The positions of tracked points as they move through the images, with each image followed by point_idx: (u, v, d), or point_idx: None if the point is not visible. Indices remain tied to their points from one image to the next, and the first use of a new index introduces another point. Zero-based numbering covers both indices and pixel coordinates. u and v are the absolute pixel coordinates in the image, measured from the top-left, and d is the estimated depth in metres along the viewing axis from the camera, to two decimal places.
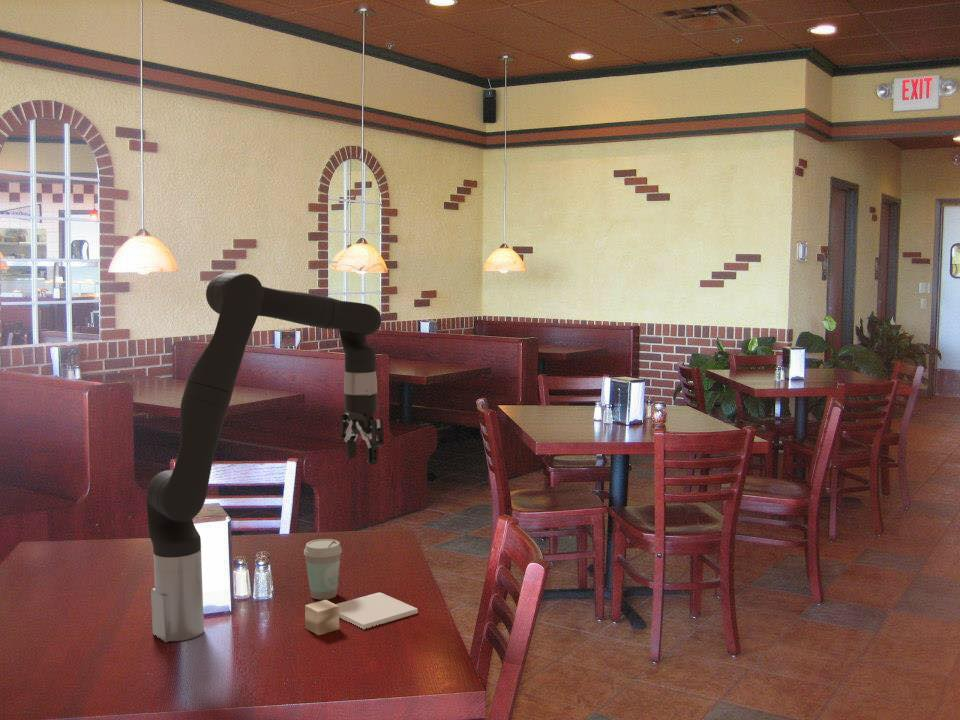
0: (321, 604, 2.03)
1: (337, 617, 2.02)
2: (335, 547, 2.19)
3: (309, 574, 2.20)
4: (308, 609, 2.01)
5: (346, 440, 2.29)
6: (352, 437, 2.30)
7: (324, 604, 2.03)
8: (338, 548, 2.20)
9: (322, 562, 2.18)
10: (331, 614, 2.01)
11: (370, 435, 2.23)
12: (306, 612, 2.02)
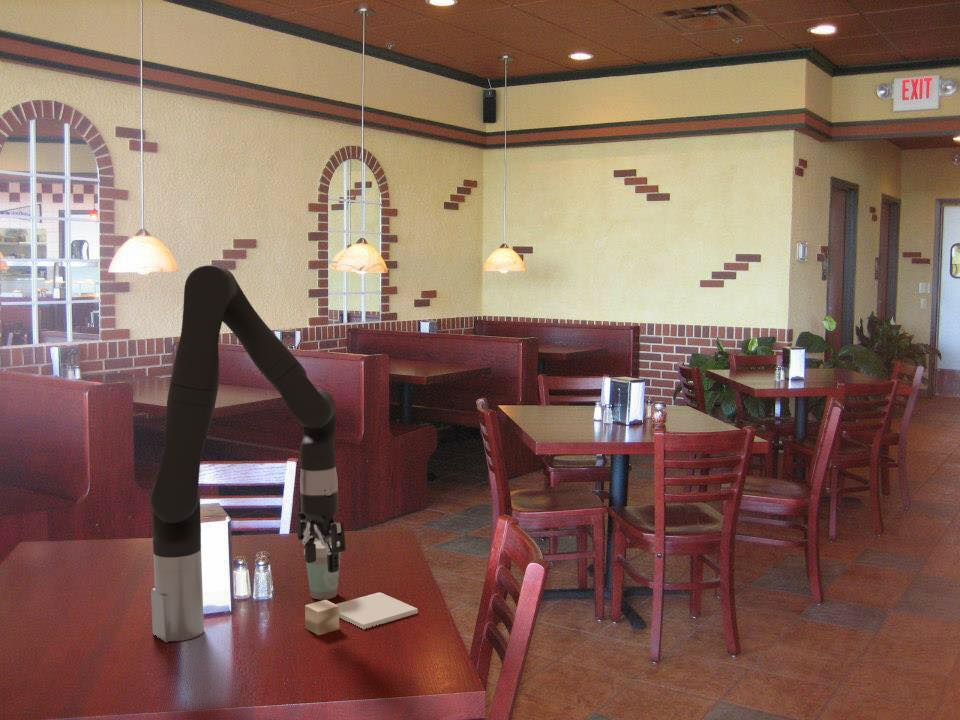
0: (321, 604, 2.03)
1: (337, 617, 2.02)
2: None
3: (309, 574, 2.20)
4: (308, 610, 2.01)
5: (304, 543, 2.03)
6: (311, 539, 2.04)
7: (324, 604, 2.03)
8: None
9: (322, 562, 2.18)
10: (331, 614, 2.01)
11: (330, 540, 1.98)
12: (306, 612, 2.02)
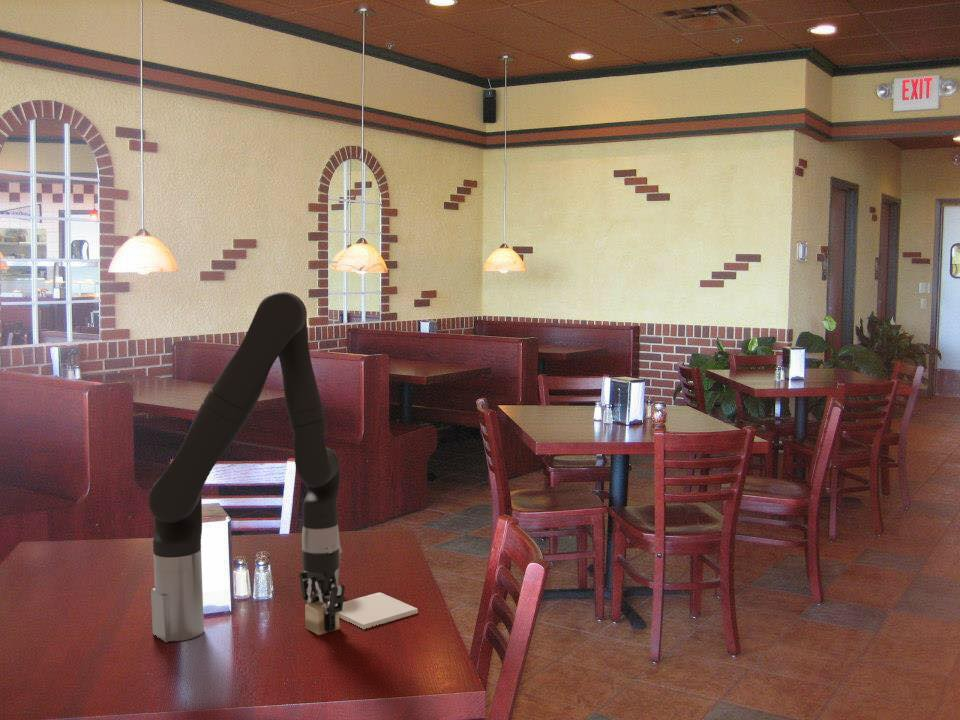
0: (321, 604, 2.03)
1: (337, 616, 2.02)
2: None
3: None
4: (308, 609, 2.01)
5: None
6: (316, 599, 2.05)
7: None
8: None
9: None
10: None
11: (329, 599, 1.99)
12: (306, 612, 2.02)
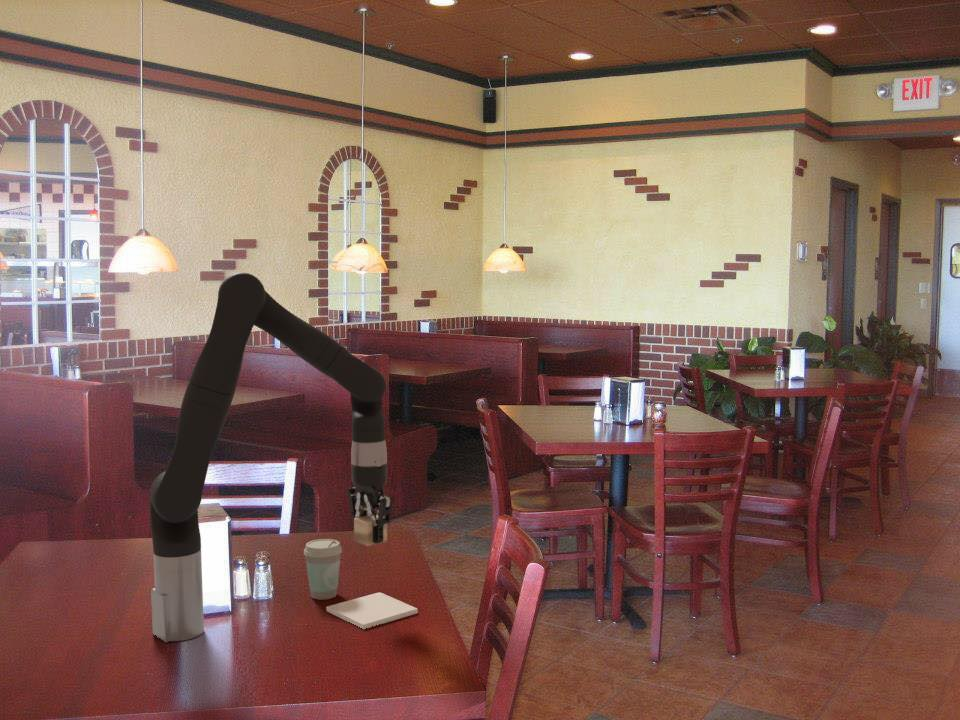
0: (369, 517, 2.10)
1: (385, 529, 2.09)
2: (335, 547, 2.19)
3: (309, 574, 2.20)
4: (357, 522, 2.09)
5: None
6: (363, 514, 2.12)
7: None
8: (338, 548, 2.20)
9: (322, 562, 2.18)
10: None
11: (377, 512, 2.07)
12: (355, 525, 2.10)
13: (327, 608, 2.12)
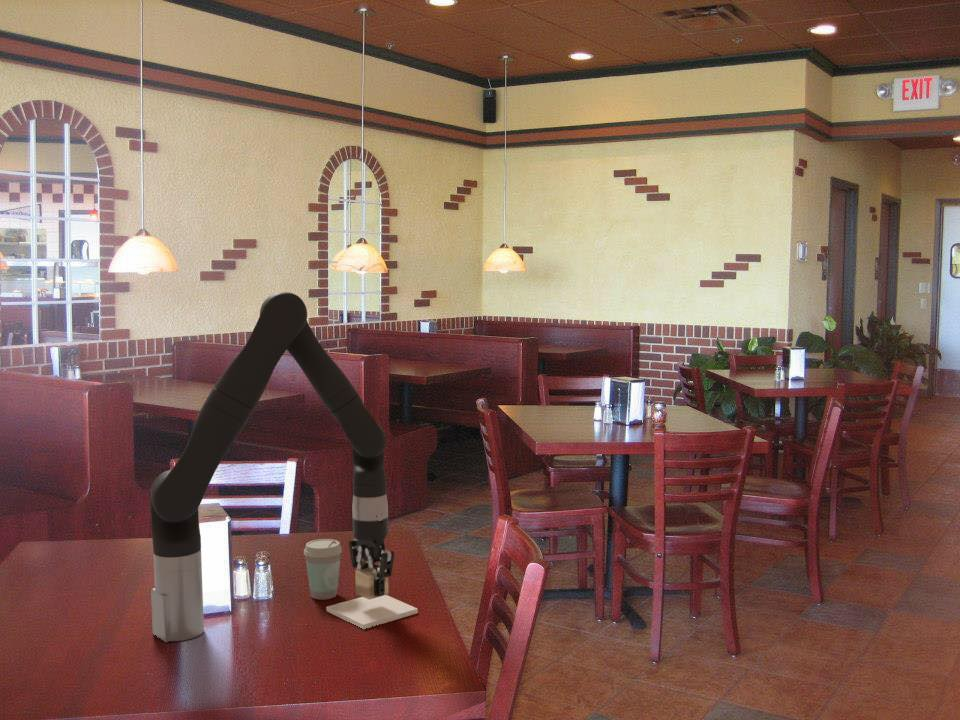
0: (370, 570, 2.12)
1: (386, 582, 2.11)
2: (335, 547, 2.19)
3: (309, 574, 2.20)
4: (358, 575, 2.10)
5: None
6: (365, 566, 2.13)
7: None
8: (338, 548, 2.20)
9: (322, 562, 2.18)
10: None
11: (378, 565, 2.08)
12: (356, 578, 2.11)
13: (327, 608, 2.12)
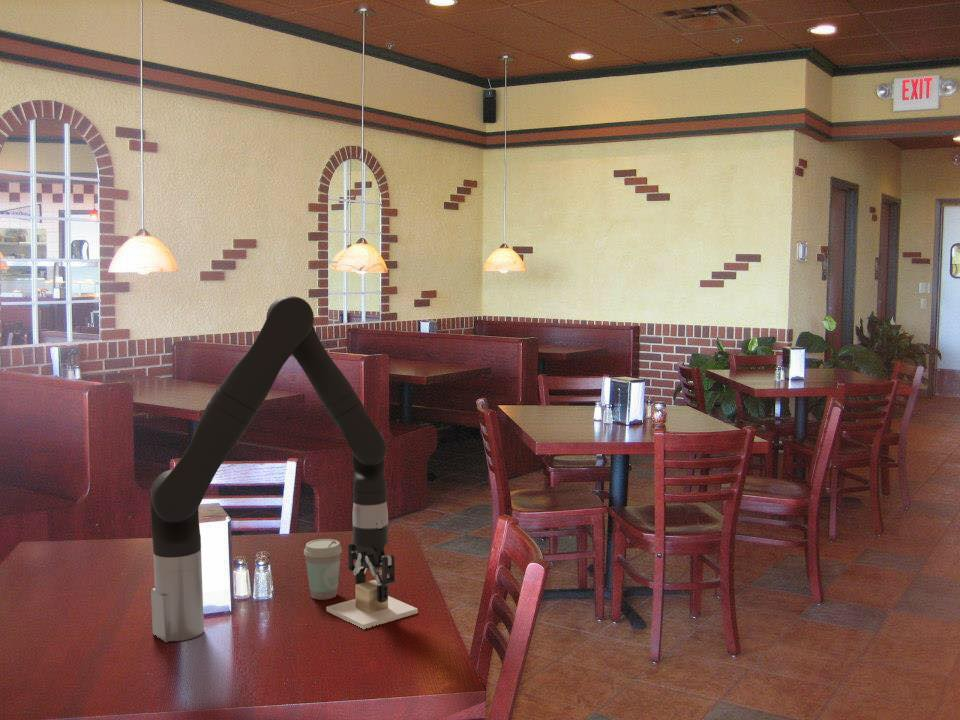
0: (370, 584, 2.12)
1: None
2: (335, 547, 2.19)
3: (309, 574, 2.20)
4: (358, 589, 2.10)
5: (355, 573, 2.13)
6: (361, 569, 2.14)
7: (373, 584, 2.12)
8: (338, 548, 2.20)
9: (322, 562, 2.18)
10: None
11: (380, 571, 2.08)
12: (356, 591, 2.11)
13: (327, 608, 2.12)
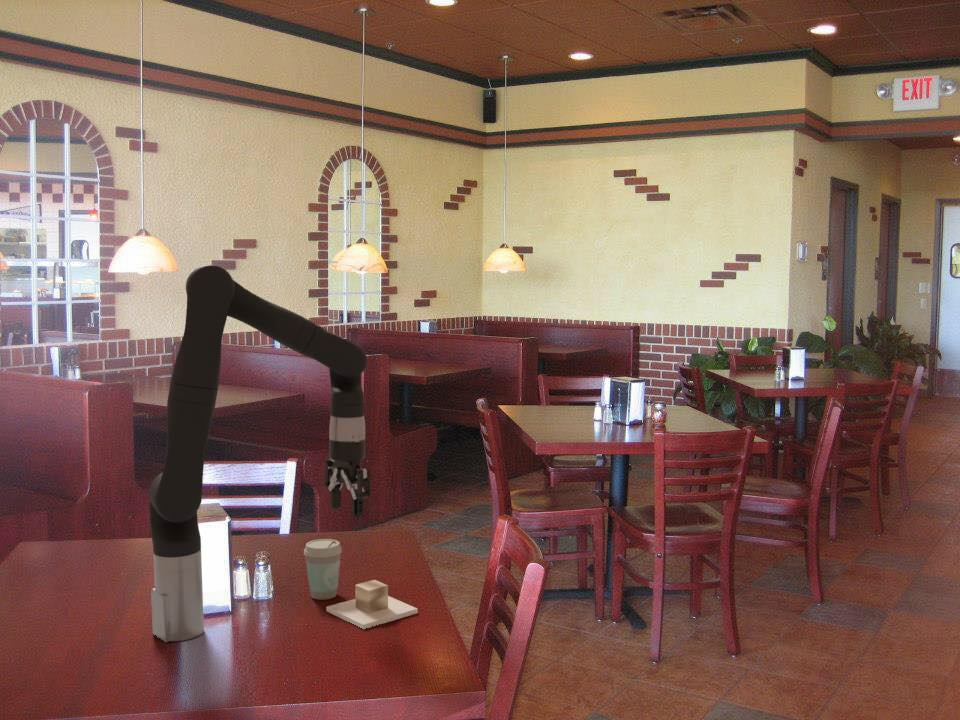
0: (370, 584, 2.12)
1: (386, 596, 2.11)
2: (335, 547, 2.19)
3: (309, 574, 2.20)
4: (358, 589, 2.10)
5: (330, 489, 2.12)
6: (337, 485, 2.13)
7: (373, 584, 2.12)
8: (338, 548, 2.20)
9: (322, 562, 2.18)
10: (380, 593, 2.10)
11: (356, 485, 2.06)
12: (356, 591, 2.11)
13: (327, 608, 2.12)
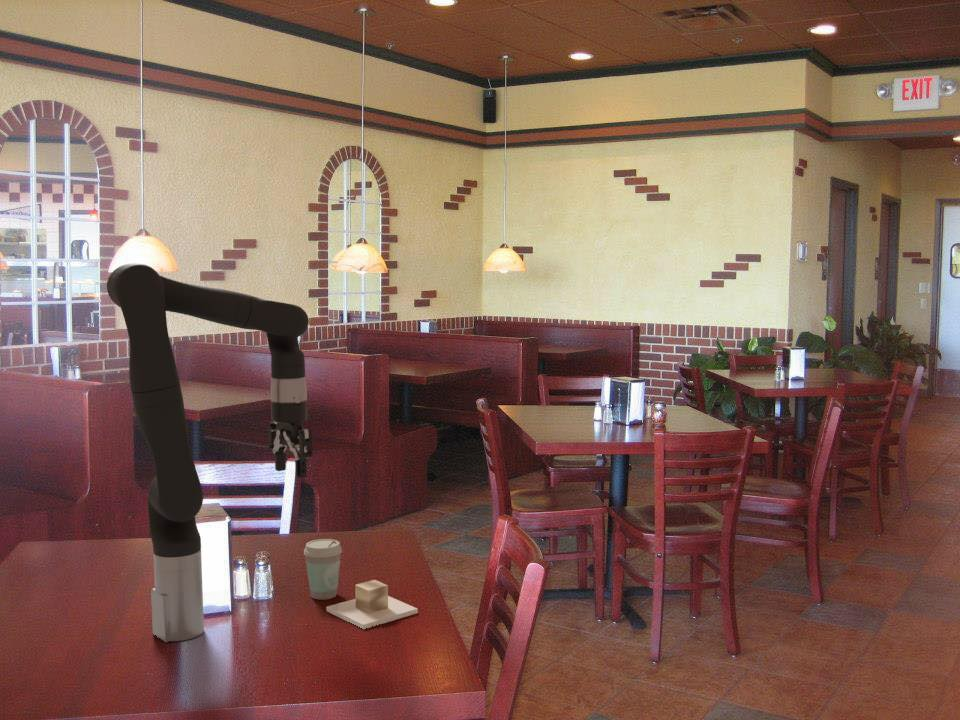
0: (370, 584, 2.12)
1: (386, 596, 2.11)
2: (335, 547, 2.19)
3: (309, 574, 2.20)
4: (358, 589, 2.10)
5: (274, 451, 2.12)
6: (281, 448, 2.13)
7: (373, 584, 2.12)
8: (338, 548, 2.20)
9: (322, 562, 2.18)
10: (380, 593, 2.10)
11: (298, 446, 2.06)
12: (356, 591, 2.11)
13: (327, 608, 2.12)
